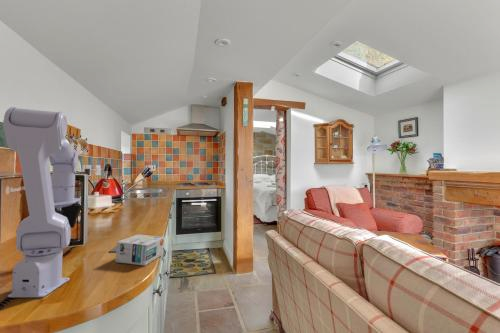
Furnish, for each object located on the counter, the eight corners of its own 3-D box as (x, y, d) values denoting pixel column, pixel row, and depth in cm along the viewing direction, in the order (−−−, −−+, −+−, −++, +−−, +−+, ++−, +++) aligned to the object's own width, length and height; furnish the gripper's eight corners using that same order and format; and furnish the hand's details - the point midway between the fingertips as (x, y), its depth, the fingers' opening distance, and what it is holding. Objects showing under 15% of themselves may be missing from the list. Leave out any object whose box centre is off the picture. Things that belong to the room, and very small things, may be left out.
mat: (134, 252, 89) (134, 251, 89) (108, 252, 88) (108, 251, 88) (146, 242, 101) (146, 241, 101) (124, 242, 100) (124, 241, 100)
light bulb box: (114, 262, 79) (145, 266, 77) (116, 241, 79) (146, 244, 77) (136, 252, 89) (163, 255, 87) (137, 233, 89) (164, 236, 87)
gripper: (66, 184, 84) (64, 224, 84) (30, 188, 70) (29, 236, 70) (87, 185, 85) (86, 225, 84) (56, 188, 70) (55, 236, 70)
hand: (62, 230), depth 77 cm, fingers open, 7 cm apart
